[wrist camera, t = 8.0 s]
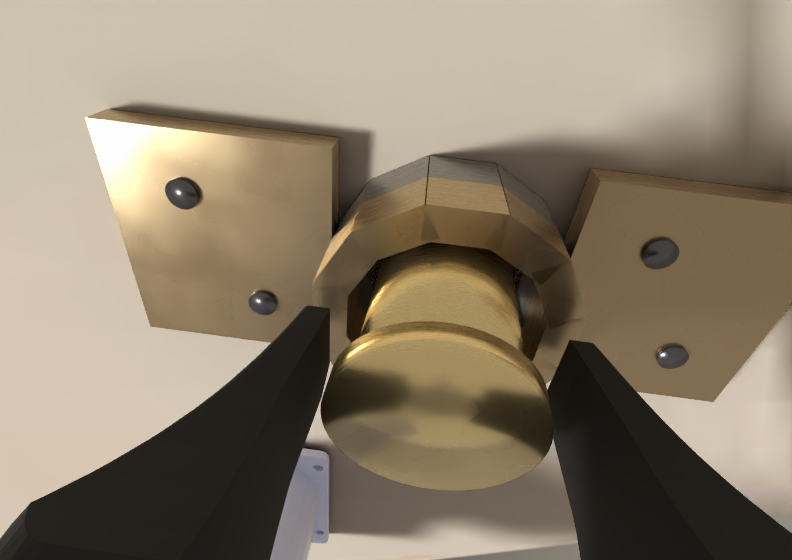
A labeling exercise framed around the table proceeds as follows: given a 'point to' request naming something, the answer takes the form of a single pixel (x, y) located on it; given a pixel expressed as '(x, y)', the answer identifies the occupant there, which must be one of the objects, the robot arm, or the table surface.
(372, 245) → the hinge
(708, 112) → the table surface
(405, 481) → the hinge pin
